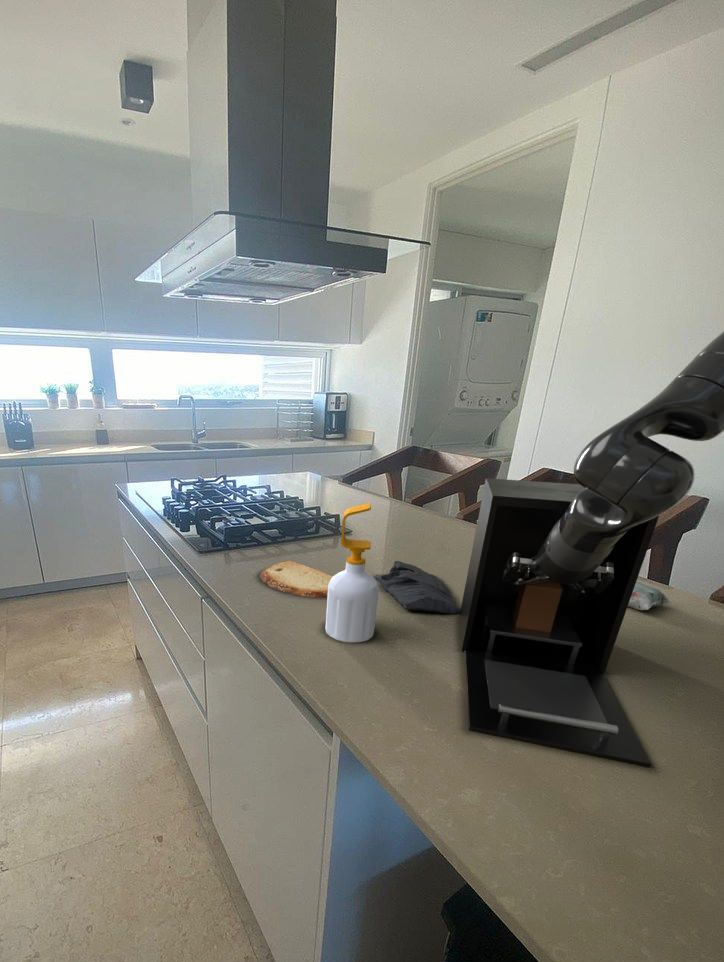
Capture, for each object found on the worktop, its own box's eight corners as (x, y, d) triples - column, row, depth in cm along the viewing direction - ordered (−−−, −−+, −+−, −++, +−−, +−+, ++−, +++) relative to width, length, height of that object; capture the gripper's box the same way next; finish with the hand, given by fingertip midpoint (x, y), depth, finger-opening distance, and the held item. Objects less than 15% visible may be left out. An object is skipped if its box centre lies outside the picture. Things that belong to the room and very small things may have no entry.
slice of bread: (349, 598, 107) (350, 582, 105) (268, 602, 104) (268, 586, 103) (328, 569, 123) (329, 555, 121) (257, 572, 120) (258, 558, 119)
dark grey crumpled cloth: (392, 616, 99) (395, 595, 97) (373, 577, 119) (374, 558, 117) (467, 618, 99) (472, 596, 97) (435, 578, 119) (438, 559, 117)
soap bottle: (373, 647, 87) (389, 512, 77) (323, 642, 89) (332, 509, 79) (373, 625, 95) (387, 500, 85) (327, 620, 97) (335, 497, 87)
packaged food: (645, 619, 100) (653, 597, 98) (588, 598, 109) (594, 577, 107) (667, 611, 103) (675, 590, 101) (610, 592, 113) (617, 572, 111)
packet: (545, 621, 87) (557, 579, 83) (550, 632, 83) (562, 589, 80) (512, 616, 88) (522, 575, 85) (515, 627, 84) (526, 584, 81)
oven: (580, 634, 93) (625, 487, 82) (652, 772, 60) (746, 558, 48) (459, 616, 99) (486, 478, 88) (464, 733, 66) (508, 534, 55)
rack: (562, 635, 90) (568, 616, 89) (575, 665, 81) (582, 644, 79) (482, 623, 94) (486, 605, 93) (485, 650, 85) (490, 630, 83)
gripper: (636, 527, 66) (590, 577, 81) (521, 517, 70) (497, 566, 85) (636, 577, 63) (589, 619, 78) (518, 564, 67) (494, 606, 82)
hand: (541, 591), depth 81 cm, fingers open, 8 cm apart
